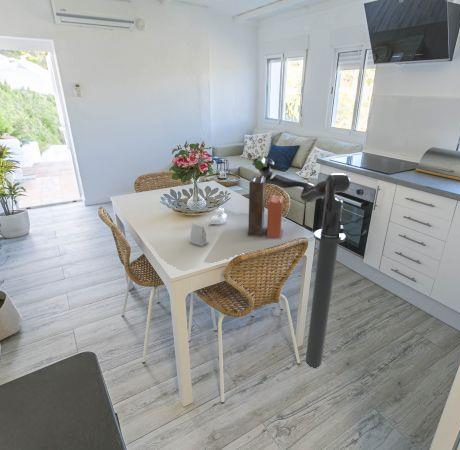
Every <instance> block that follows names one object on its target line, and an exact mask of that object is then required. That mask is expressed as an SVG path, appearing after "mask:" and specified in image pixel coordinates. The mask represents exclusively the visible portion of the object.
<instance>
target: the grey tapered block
mask: <svg viewBox="0 0 460 450" xmlns="http://www.w3.org/2000/svg"><path fill="white" fill-rule="evenodd" d="M190 241H191V244H193V245H196V246H199V247H203V246H205V245H206V244H207V232H206V229H205V227H204V226H202V225H200V224H199V225H198V224H196V223H192V226H191V230H190Z"/></svg>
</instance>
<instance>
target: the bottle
mask: <svg viewBox="0 0 460 450" xmlns="http://www.w3.org/2000/svg"><path fill="white" fill-rule="evenodd" d="M264 156H265V155H263V156H260V157H259V156H258V157H259V158H258V157H257V158H258V160H257V161H256V162H255V165H254V168H255V169H256V170H257V171H259V170H260V169H262V168H263V167H264V165H265V163H266V160H265V158H264Z"/></svg>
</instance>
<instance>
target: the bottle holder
mask: <svg viewBox="0 0 460 450" xmlns="http://www.w3.org/2000/svg"><path fill="white" fill-rule="evenodd" d="M267 202H268V203H267V221H266V223H267V224H266V237H267V238H276V239H277V238H278V239H280V238H281V231H282V218H283V204H284V196H282V195H274V194H271V195H270V196H269V199H268V201H267Z"/></svg>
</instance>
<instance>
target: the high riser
mask: <svg viewBox="0 0 460 450" xmlns="http://www.w3.org/2000/svg"><path fill="white" fill-rule="evenodd" d="M265 179H266V177H263V176H262V177H260V176H257V175H254V176H252V177H251V179H250V180H249V183H248V184H249V186H248V188H249V189H248V190H249V191H248V231H247V232H248V233H247V235H248V236H253V237H262V234H263V231H264V226H265V225H264V223H265V201H266V199H265V198H266V184H265Z"/></svg>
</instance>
